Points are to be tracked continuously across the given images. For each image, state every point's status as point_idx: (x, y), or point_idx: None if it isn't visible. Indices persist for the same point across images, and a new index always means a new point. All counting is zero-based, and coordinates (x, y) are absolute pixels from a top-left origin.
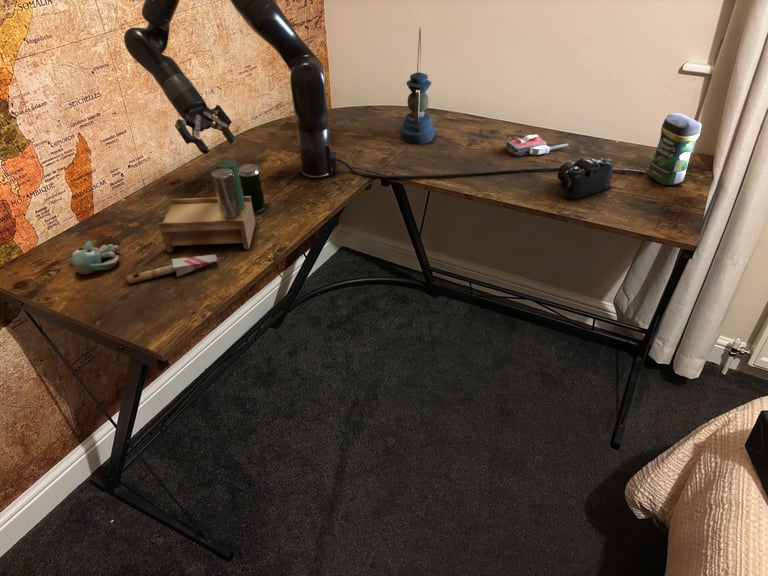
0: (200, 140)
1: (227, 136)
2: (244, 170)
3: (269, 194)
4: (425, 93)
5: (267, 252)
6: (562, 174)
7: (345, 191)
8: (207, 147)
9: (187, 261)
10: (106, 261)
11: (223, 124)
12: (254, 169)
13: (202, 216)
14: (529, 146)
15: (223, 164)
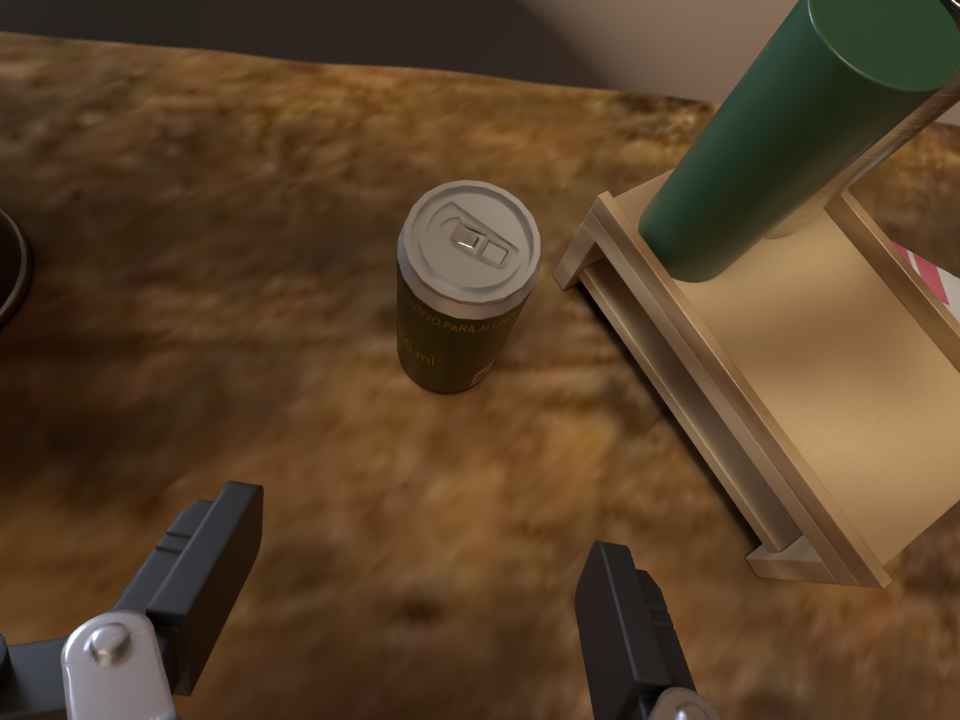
0: (657, 661)
1: (228, 577)
2: (509, 249)
3: (290, 373)
4: None
5: (677, 135)
6: None
7: (126, 72)
8: (607, 560)
9: (936, 289)
10: None
11: (121, 673)
12: (467, 195)
13: (836, 326)
14: None
15: (915, 27)
